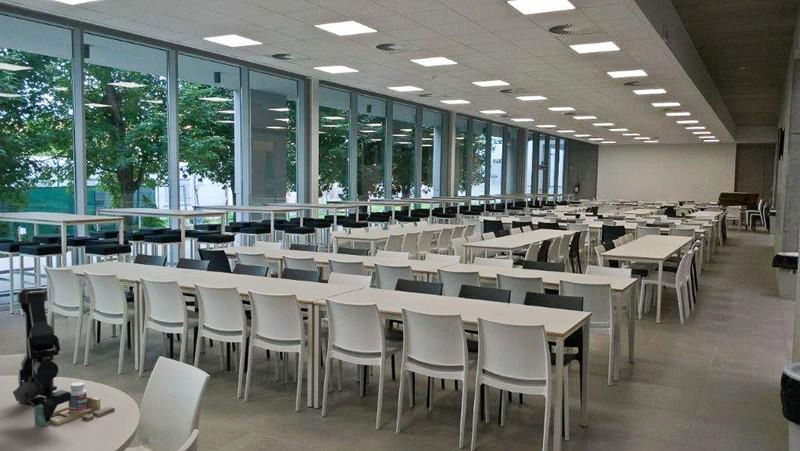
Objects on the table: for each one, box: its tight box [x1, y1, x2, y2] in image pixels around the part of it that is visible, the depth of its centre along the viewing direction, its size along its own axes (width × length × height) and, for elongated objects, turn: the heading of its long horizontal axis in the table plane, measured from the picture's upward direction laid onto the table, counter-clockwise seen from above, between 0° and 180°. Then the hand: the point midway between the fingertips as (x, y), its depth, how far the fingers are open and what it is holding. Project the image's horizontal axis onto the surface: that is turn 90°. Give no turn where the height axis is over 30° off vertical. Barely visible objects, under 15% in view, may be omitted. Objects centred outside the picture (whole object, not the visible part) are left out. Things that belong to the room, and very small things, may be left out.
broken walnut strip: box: [81, 406, 115, 422], centre depth 206 cm, size 3×10×1 cm, turn 154°
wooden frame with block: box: [33, 395, 101, 428], centre depth 204 cm, size 9×19×6 cm, turn 154°
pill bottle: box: [68, 381, 87, 413], centre depth 208 cm, size 5×5×9 cm
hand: (43, 420), depth 198 cm, fingers closed on wooden frame with block, 3 cm apart
